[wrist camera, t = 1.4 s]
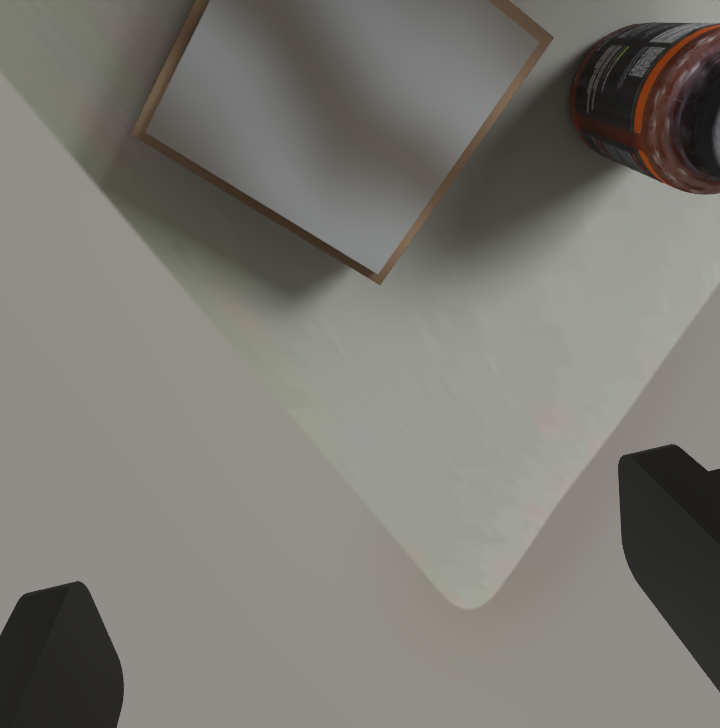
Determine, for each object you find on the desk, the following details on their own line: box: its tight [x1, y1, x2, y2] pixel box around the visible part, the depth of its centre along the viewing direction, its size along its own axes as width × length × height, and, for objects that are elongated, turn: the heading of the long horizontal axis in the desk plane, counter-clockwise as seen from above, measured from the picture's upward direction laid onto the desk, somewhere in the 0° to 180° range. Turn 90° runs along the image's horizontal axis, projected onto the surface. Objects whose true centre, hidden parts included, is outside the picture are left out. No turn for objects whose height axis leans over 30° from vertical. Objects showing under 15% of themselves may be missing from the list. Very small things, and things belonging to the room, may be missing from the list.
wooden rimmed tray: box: [131, 0, 554, 285], centre depth 28 cm, size 12×12×6 cm
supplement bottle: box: [571, 22, 720, 194], centre depth 27 cm, size 6×6×11 cm
